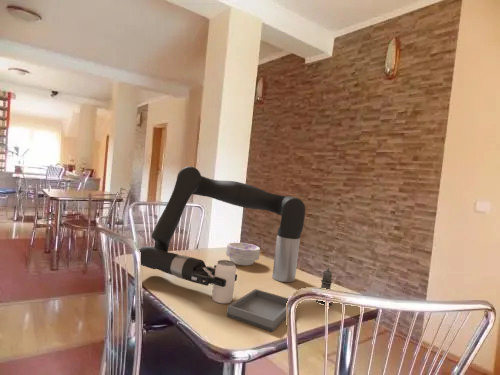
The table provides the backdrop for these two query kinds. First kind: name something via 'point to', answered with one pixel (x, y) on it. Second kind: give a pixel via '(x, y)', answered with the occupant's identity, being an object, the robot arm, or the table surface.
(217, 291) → the can
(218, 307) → the table surface
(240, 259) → the paper bowls
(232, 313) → the tray
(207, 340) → the table surface
